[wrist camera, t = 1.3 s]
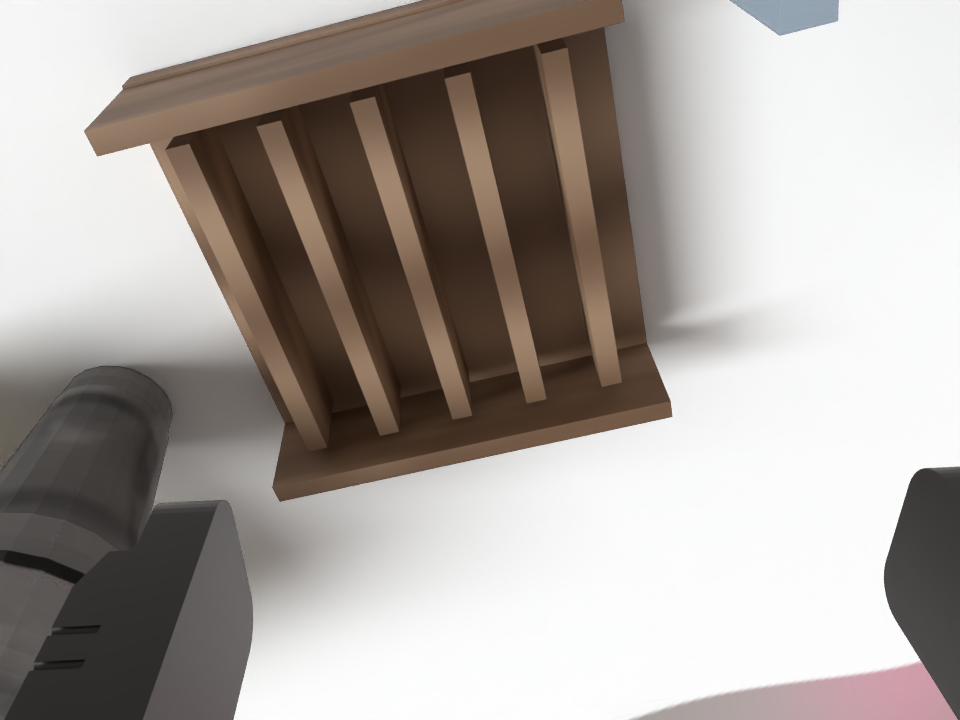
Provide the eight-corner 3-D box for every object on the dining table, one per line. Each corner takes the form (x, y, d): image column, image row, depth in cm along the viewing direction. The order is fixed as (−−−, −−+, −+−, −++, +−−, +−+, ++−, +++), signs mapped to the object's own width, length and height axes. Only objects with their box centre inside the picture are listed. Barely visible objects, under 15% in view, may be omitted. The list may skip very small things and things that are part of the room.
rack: (130, 77, 28) (82, 127, 24) (589, -44, 27) (620, -12, 23) (295, 424, 37) (280, 503, 33) (643, 346, 36) (672, 418, 32)
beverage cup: (97, 307, 33) (-208, 815, 17) (239, 410, 37) (98, 914, 20) (-4, 404, 36) (-356, 930, 19) (137, 492, 39) (-61, 1001, 23)
